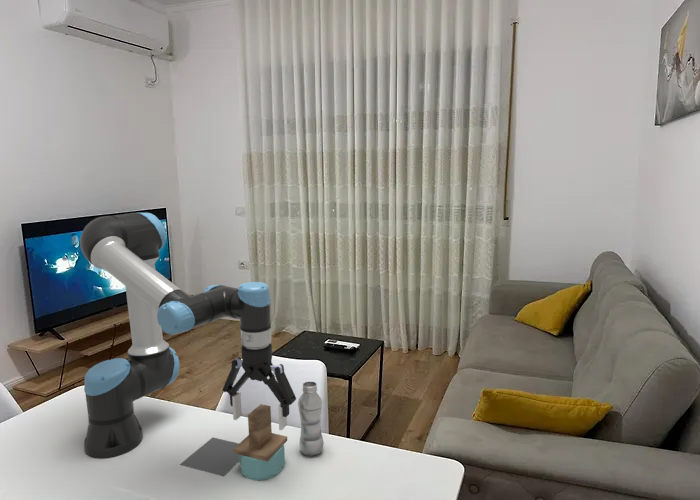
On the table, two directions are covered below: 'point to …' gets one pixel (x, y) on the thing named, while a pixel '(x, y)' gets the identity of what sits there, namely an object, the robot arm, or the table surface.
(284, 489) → the table surface
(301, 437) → the plastic bottle
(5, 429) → the table surface
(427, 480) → the table surface
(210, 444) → the mat
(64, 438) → the table surface
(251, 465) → the bowl
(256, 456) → the cover lid
